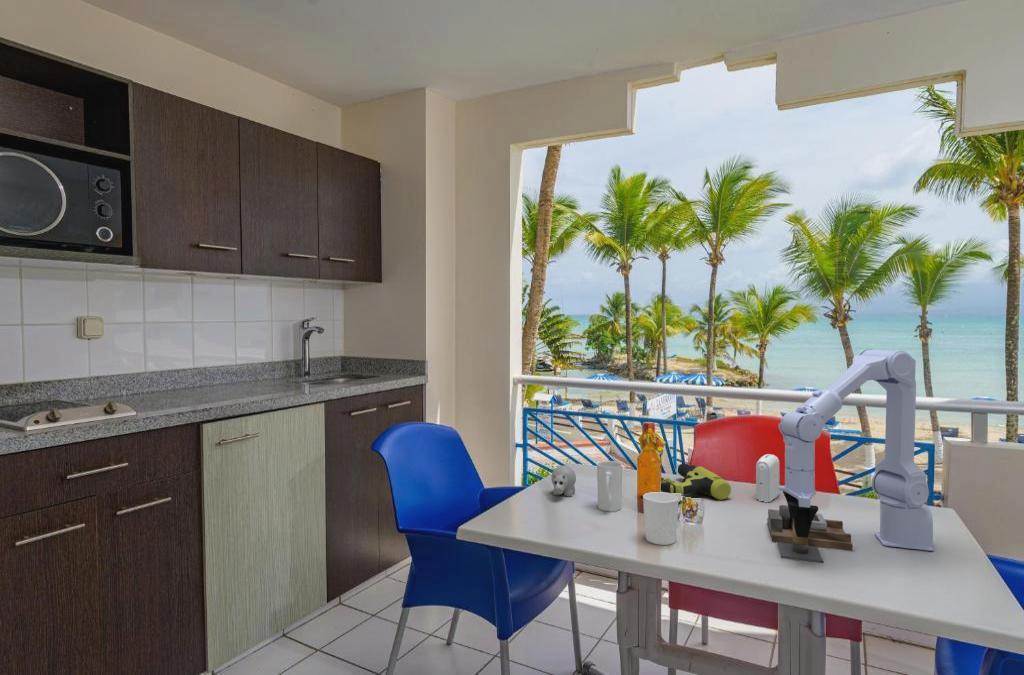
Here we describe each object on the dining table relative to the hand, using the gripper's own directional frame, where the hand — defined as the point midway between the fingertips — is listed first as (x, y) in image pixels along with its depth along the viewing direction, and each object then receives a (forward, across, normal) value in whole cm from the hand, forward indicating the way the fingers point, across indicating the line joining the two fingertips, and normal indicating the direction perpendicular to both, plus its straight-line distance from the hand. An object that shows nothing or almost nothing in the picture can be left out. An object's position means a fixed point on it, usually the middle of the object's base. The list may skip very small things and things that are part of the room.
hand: (799, 530), depth 120 cm
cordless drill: (+5, -38, -29) cm, 48 cm away
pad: (+5, 0, 0) cm, 5 cm away
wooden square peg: (+4, 0, 0) cm, 5 cm away
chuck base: (+5, -11, +3) cm, 12 cm away
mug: (+5, -15, -44) cm, 47 cm away
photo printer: (+5, -40, -3) cm, 40 cm away
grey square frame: (+3, -11, +3) cm, 12 cm away
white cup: (+5, +2, -29) cm, 30 cm away
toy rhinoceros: (+5, -22, -59) cm, 63 cm away
